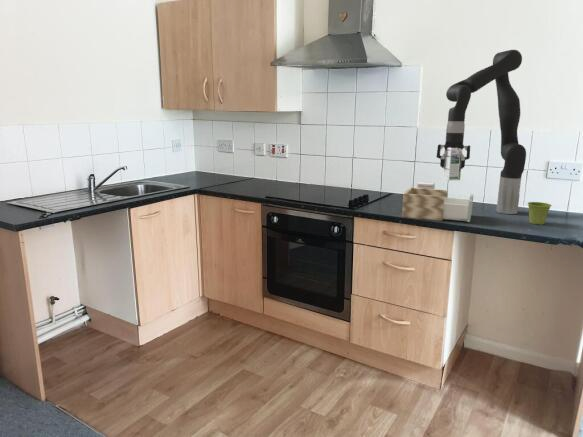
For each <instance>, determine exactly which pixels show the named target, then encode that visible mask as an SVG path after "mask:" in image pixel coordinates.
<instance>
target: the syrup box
mask: <svg viewBox="0 0 583 437" xmlns="http://www.w3.org/2000/svg"><path fill="white" fill-rule="evenodd" d="M458 149H459V150H460V152H461V153H462V154H463V149H461V148H458ZM458 149H457V148H449V149H448V148H447V150H448V151H447V152H448V154H447V155H446V156H445V157H444V167H443V168H442V171H443V172H442V179H443V180H445V181H448V182H449V181H460V180H461V176H462V175H461V173H462V172H461V171H462V169H461V162H462V159H461V157H460V156H459V150H458ZM445 152H446V150H445V149H444V153H445ZM444 153H443V154H444Z"/></svg>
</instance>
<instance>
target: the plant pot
mask: <svg viewBox="0 0 583 437" xmlns="http://www.w3.org/2000/svg"><path fill="white" fill-rule="evenodd" d="M527 205H528V222H529V223H530V224H533V225H541V226H542V225H543V226H544V225H545V224H546V220H547V216H548V213H549V210H550V209H551V207H552V204H550V203H547V202H539V201H529V202H527Z"/></svg>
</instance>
